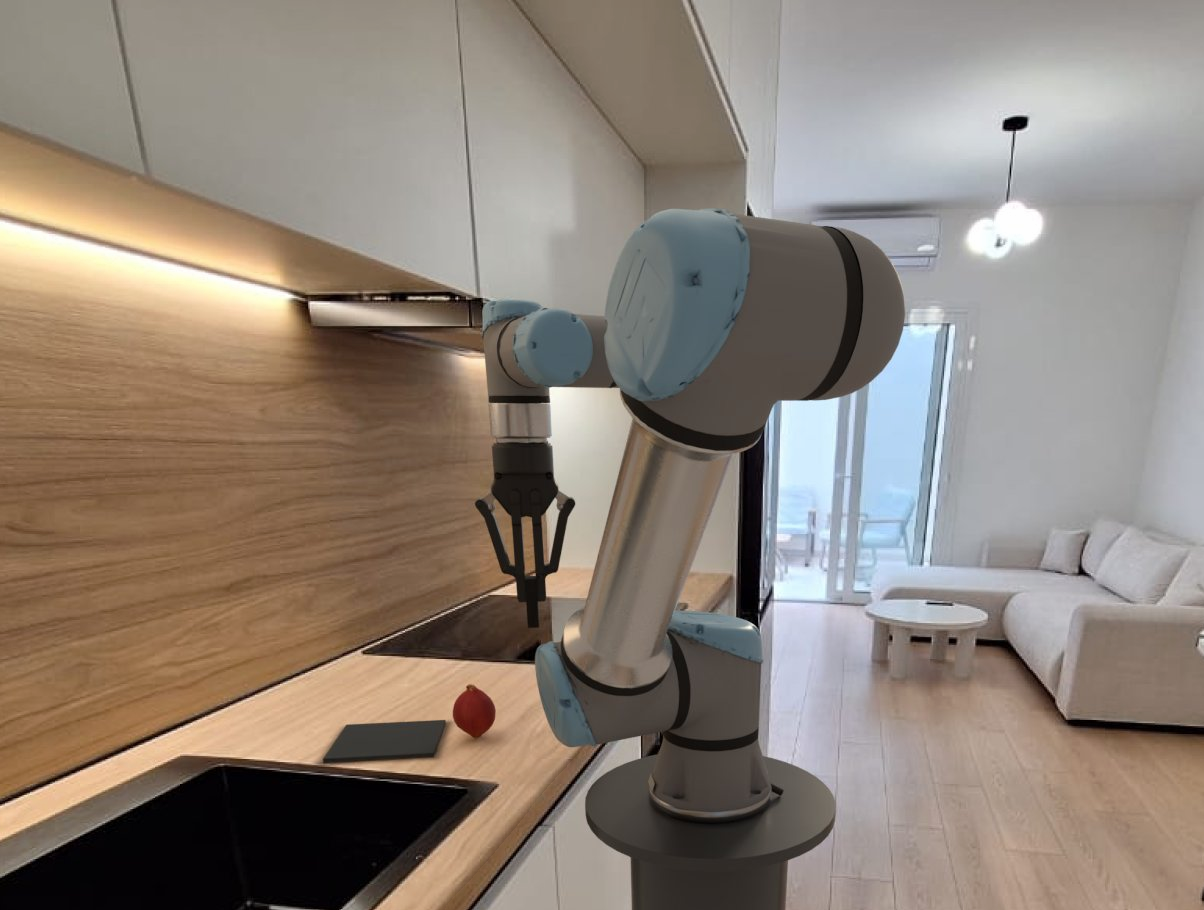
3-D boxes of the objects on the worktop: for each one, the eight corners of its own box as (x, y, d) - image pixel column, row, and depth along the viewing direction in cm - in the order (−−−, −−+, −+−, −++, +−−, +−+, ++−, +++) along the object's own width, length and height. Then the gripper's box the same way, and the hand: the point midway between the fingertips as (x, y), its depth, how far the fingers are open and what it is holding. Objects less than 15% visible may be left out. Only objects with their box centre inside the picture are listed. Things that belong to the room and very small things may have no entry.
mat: (445, 723, 119) (445, 719, 119) (434, 756, 107) (433, 752, 107) (346, 728, 117) (346, 724, 117) (323, 762, 105) (322, 758, 105)
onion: (465, 729, 117) (460, 676, 114) (503, 731, 116) (499, 678, 113) (448, 743, 112) (442, 688, 109) (488, 746, 111) (483, 690, 108)
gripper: (573, 440, 106) (581, 617, 114) (471, 440, 104) (486, 620, 112) (575, 441, 99) (582, 630, 107) (465, 441, 97) (482, 633, 105)
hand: (533, 625), depth 110 cm, fingers closed
